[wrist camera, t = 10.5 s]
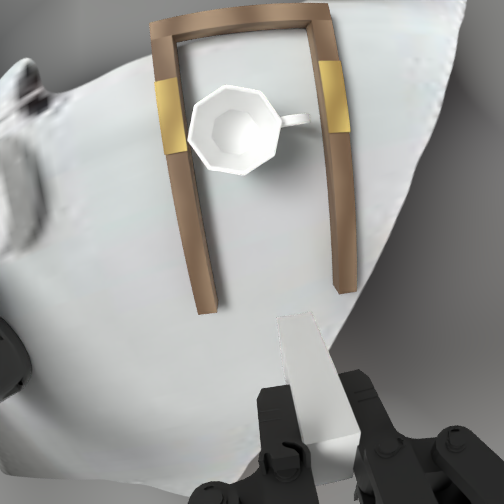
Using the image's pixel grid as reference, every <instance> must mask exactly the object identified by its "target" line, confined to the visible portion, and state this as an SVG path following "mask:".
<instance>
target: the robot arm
mask: <svg viewBox="0 0 504 504" xmlns="http://www.w3.org/2000/svg"><path fill="white" fill-rule="evenodd" d="M276 319H277V326H278V334H279V343H280V351H281V359H282V367H283V372H284V376H285V381H286V385H282V386H276V387H270V388H263V389H261V391H260V393H259V396H258V398H257V409H258V419H259V430H260V441H261V452H260V454H259V460H258V462H259V465H260V466H259V468H258V469H257V471H256V472H255V473H253V474H252V475H251V476H249V477H247V478H245V479H244V480H240V481H238V482H235V483H232V484H227V483H224V482H220V481H211V482H208V483H204V484H202V485H200V486H199V487H197V488H196V489H195V490H194V492H193V493H192V495H191V496H190V499H189V502H188V504H319V501H318V496H317V492H316V488H315V486H319V485H324V484H328V483H333V482H337V481H341V480H345V479H349V478H352V477H353V473H355V476H356V480H357V485H356V490H355V493H354V501H355V500H358V498H359V502H360V504H504V461H503V460H502V459H501V458H500V457H499V456H498V455H497V454H495V453H494V452H493V451H492V450H491V449H490V448H489V447H488V446H487V445H486V444H485V443H484V442H482V441H481V440H480V439H479V438H478V437H477V436H476V435H475V434H474V433H473V432H472V431H470V430H469V429H467V428H465V427H462V426H458V425H457V426H450V427H447V428H445V429H443V430H442V431H441V432H440V433H439V434H438V436H437V437H435V438H425V439H412V438H408V437H405V436H404V435H402V434H400V433H399V432H397V431H396V429H395V428H394V426H393V424H392V422H391V420H390V418H389V416H388V414H387V412H386V410H385V408H384V406H383V404H382V402H381V400H380V398H379V397H378V394H377V392H376V390H375V389H374V386H373V384H372V382H371V380H370V378H369V377H368V376H367V375H366V374H364V373H363V372H362V371H360V370H359V369H358V370H354V371H350V372H345V373H341V374H337V371H336V369H335V366H334V364H333V362H332V359H331V357H330V354H329V352H328V349H327V347H326V345H325V342H324V340H323V337H322V335H321V333H320V330H319V328H318V325H317V323H316V321H315V318H314V316H313V314H312V311H311V312H305V313H300V314H294V315H288V316H282V317H276ZM30 377H31V363H30V359H29V356H28V354H27V352H26V350H25V348H24V346H23V344H22V342H21V341H20V339H19V338H18V336H17V335H16V334H15V332H14V331H13V330H12V329H11V328H10V327H9V325H8V324H7V323H6V322H5V321H3V320H2V319H1V318H0V403H1V402H2V401H4V400H6V399H7V398H9V397H10V396H12V395H14V394H15V393H17V392H19V391H20V390H21V389H23V388H24V386H25V385H26V383H27V382H28V381H29V379H30Z"/></svg>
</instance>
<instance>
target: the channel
mask: <svg viewBox="0 0 504 504" xmlns="http://www.w3.org/2000/svg"><path fill="white" fill-rule="evenodd" d="M149 26H150V37H151V47H152V57H153V66H154V75H155V82H154V84H155V92H156V100H157V108H158V115H159V122H160V129H161V135H162V142H163V148H164V154H165V155H166V160H167V166H168V171H169V177H170V183H171V189H172V194H173V199H174V205H175V210H176V215H177V220H178V226H179V231H180V235H181V240H182V245H183V250H184V255H185V259H186V264H187V268H188V273H189V277H190V282H191V286H192V291H193V295H194V299H195V303H196V307H197V312H198V315H200V314H209V313H217V307H218V298H217V294H216V289H215V284H214V279H213V273H212V268H211V263H210V258H209V253H208V247H207V242H206V236H205V231H204V225H203V220H202V214H201V208H200V203H199V197H198V191H197V185H196V179H195V173H194V167H193V160H192V154H191V148H190V143H189V142H188V141H187V139H188V128H187V121H186V114H185V107H184V100H183V92H182V85H181V77H180V69H179V61H178V53H177V44H176V43H177V42H182V41H187V40H192V39H197V38H203V37H209V36H216V35H223V34H230V33H238V32H247V31H258V30H270V29H288V28H306V30H307V35H308V41H309V47H310V52H311V58H312V64H313V71H314V77H315V84H316V90H317V98H318V105H319V112H320V120H321V128H322V137H323V146H324V155H325V165H326V176H327V187H328V200H329V213H330V229H331V247H332V270H333V285H334V287H335V288H336V290H337V292H338V293H339V294H344V293H350V292H355V291H357V245H356V215H355V196H354V180H353V167H352V155H351V145H350V135H349V132H351V131H350V122H349V114H348V106H347V99H346V91H345V85H344V78H343V72H342V65H341V61H339V56H338V50H337V45H336V40H335V34H334V29H333V24H332V20H331V15H330V10H329V6H328V3H281V4H263V5H250V6H240V7H231V8H223V9H216V10H210V11H203V12H197V13H192V14H187V15H181V16H176V17H172V18H167V19H163V20H159V21H155V22H151V23H149Z"/></svg>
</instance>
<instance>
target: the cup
mask: <svg viewBox="0 0 504 504" xmlns="http://www.w3.org/2000/svg"><path fill="white" fill-rule="evenodd" d="M310 122H311V120H310V114H309V113H302V114H294V115H287V116H281V117H279V115H278V114H277V112H276V111H275V109H274V108H273V107H272V105H271V104H270V102H269V101H268V99H267V98H266V97H265V95H264V94H263V92H262V91H259V90H254V89H248V88H243V87H237V86H231V85H223V86H222V87H220V88H219V89H217V90H216V91H214V92H213V93H211V94H210V95H208V96H207V97H205V98H204V99H202V100H201V101H199V102H198V103H196V104H195V105H194V108H193V113H192V118H191V123H190V129H189V134H188V139H187V141H188V142H189V143H190V145H191V146H192V148H193V149H194V150H195V152H196V153H197V154H198V156H199V157H200V159H201V160H202V161H203V163H204V164H205V166H206V167H207V168H208V169H209V170H215V171H221V172H226V173H232V174H238V175H243V176H245V175H246V174H248V173H249V172H251V171H252V170H254V169H255V168H257V167H258V166H260V165H261V164H263V163H264V162H266V161H267V160H269V159H270V158H272V157H274V156H275V153H276V148H277V143H278V138H279V133H280V129H281V128H282V127H287V126H293V125H299V124H305V123H310Z"/></svg>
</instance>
